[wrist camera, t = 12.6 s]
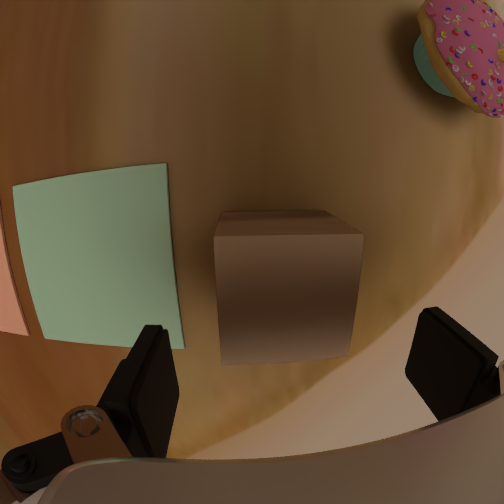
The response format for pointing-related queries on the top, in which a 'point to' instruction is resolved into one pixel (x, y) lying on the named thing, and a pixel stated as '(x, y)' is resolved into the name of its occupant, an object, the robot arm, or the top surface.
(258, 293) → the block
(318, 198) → the top surface
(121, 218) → the mat
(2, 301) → the mat
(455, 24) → the cupcake
